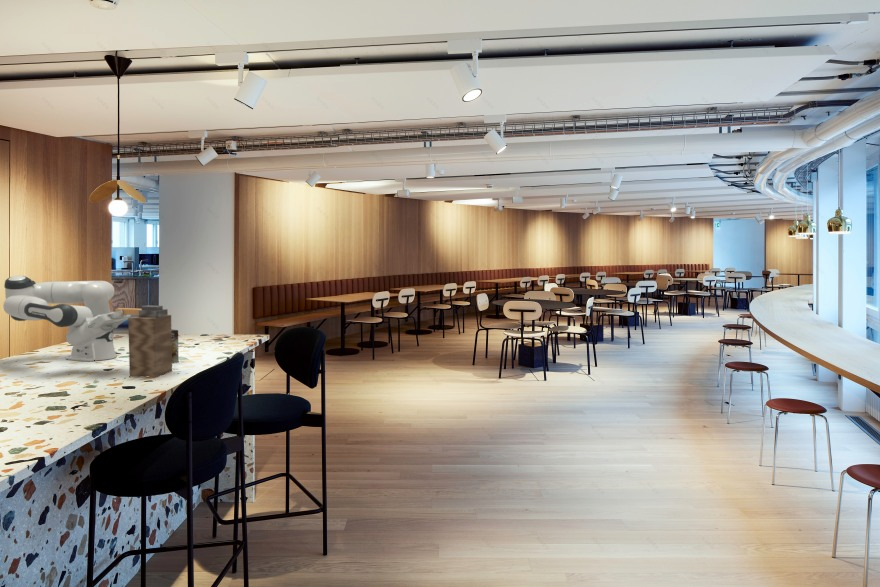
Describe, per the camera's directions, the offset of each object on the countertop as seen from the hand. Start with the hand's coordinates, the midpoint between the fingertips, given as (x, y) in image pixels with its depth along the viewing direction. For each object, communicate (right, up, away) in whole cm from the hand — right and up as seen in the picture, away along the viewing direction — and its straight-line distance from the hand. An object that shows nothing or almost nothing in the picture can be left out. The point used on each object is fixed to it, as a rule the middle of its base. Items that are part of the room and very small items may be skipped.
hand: (125, 310), depth 270 cm
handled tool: (+5, -2, 0) cm, 6 cm away
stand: (+11, -29, +2) cm, 31 cm away
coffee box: (+6, -27, +27) cm, 38 cm away
